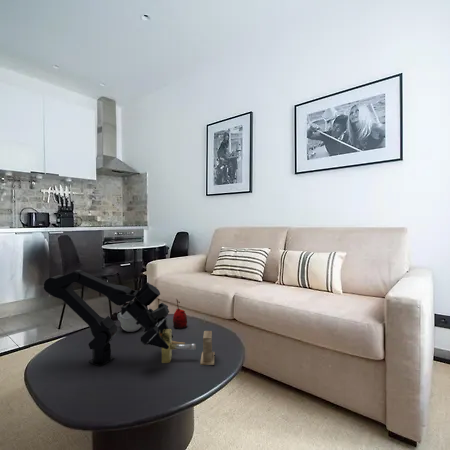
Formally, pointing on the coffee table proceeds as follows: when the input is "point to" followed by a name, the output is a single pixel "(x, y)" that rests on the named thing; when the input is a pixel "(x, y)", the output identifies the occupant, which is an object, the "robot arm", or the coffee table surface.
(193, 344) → the olive block with rod
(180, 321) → the red clay folk toy
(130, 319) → the teacup
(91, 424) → the coffee table surface
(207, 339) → the eye post
